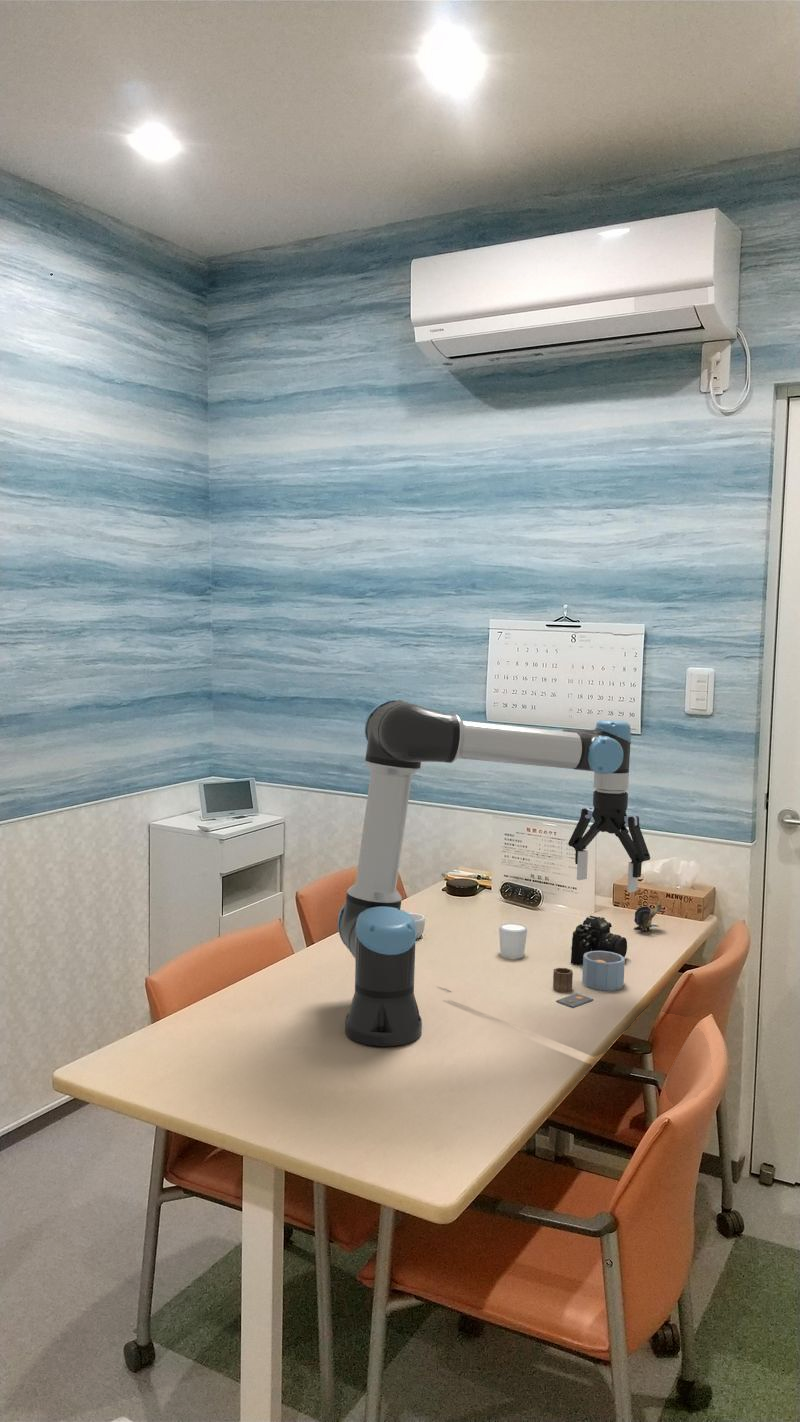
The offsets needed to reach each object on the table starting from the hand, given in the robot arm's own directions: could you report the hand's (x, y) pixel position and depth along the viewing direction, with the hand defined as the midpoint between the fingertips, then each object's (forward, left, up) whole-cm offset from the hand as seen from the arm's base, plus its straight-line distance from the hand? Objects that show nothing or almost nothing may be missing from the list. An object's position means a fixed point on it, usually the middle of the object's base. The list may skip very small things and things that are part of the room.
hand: (606, 885), depth 219 cm
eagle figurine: (+39, +15, -23) cm, 47 cm away
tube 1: (-10, +3, -22) cm, 25 cm away
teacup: (-12, +52, -23) cm, 58 cm away
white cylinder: (-1, +26, -23) cm, 34 cm away
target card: (-14, -3, -22) cm, 26 cm away
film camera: (+14, +11, -23) cm, 29 cm away
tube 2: (0, 0, -22) cm, 22 cm away
